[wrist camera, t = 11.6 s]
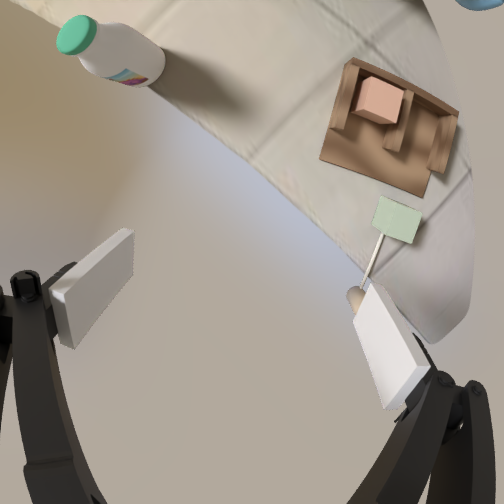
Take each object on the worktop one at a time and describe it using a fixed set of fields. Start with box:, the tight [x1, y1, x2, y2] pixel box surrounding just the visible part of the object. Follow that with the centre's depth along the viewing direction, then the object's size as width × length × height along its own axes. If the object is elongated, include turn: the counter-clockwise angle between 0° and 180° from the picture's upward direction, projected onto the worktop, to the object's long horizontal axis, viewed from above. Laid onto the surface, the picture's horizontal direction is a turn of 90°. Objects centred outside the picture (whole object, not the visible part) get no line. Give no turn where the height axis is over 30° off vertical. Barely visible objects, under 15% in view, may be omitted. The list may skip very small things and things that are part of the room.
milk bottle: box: [57, 15, 165, 87], centre depth 26 cm, size 8×8×20 cm
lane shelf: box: [319, 57, 459, 197], centre depth 36 cm, size 16×19×5 cm
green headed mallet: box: [347, 196, 423, 316], centre depth 41 cm, size 20×5×11 cm, turn 165°
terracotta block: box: [351, 76, 404, 124], centre depth 33 cm, size 5×5×6 cm
